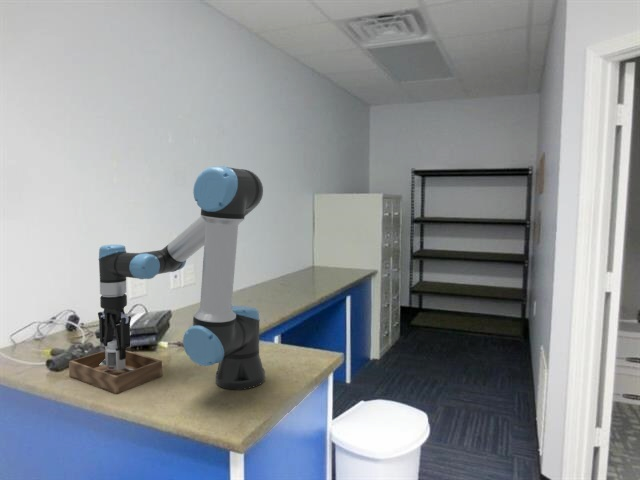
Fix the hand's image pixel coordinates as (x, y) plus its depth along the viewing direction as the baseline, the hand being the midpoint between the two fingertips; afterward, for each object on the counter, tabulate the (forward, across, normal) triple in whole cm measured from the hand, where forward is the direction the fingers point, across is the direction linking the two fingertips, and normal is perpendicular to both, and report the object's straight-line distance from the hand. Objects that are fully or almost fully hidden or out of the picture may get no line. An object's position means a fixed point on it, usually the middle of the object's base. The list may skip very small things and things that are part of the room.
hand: (115, 367), depth 141 cm
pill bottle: (+1, 0, 0) cm, 1 cm away
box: (+3, 0, 0) cm, 3 cm away
